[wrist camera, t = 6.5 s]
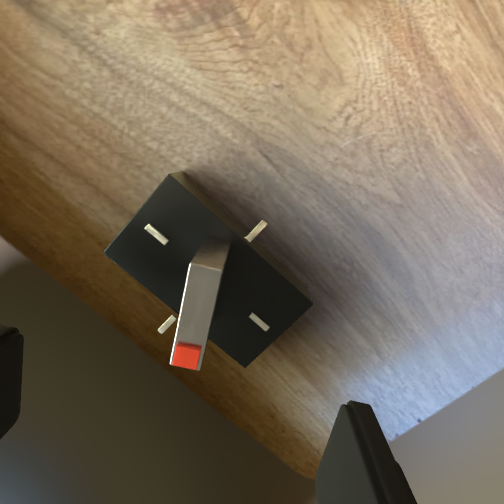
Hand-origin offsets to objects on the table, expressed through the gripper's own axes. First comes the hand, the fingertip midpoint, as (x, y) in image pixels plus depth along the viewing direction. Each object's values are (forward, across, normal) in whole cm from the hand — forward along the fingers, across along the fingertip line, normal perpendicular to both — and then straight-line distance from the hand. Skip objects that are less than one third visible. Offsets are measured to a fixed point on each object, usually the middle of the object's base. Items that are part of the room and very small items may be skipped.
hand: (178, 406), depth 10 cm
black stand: (+13, +1, 0) cm, 13 cm away
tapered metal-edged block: (+10, +1, 0) cm, 10 cm away
